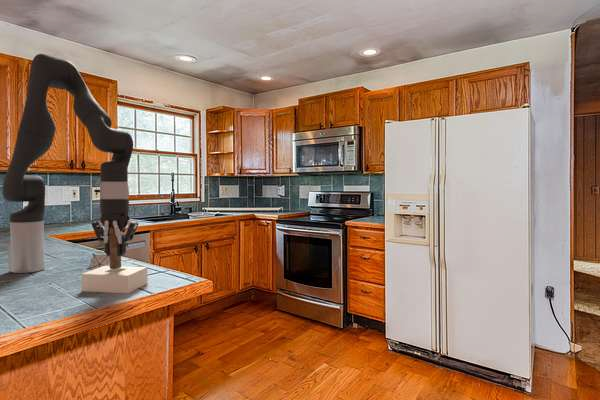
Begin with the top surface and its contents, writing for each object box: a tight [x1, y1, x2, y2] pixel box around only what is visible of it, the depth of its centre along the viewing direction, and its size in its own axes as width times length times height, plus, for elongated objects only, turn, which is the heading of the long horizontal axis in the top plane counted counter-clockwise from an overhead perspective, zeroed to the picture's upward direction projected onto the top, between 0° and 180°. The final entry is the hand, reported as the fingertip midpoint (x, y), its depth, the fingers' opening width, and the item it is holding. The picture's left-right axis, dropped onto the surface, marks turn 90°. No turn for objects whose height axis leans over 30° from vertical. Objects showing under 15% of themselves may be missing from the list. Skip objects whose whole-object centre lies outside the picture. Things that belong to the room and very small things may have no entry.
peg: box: [109, 228, 122, 269], centre depth 102 cm, size 3×3×12 cm
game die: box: [86, 250, 110, 271], centre depth 114 cm, size 9×8×10 cm
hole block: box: [81, 265, 149, 294], centre depth 102 cm, size 14×10×5 cm
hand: (115, 255), depth 102 cm, fingers closed on peg, 3 cm apart
